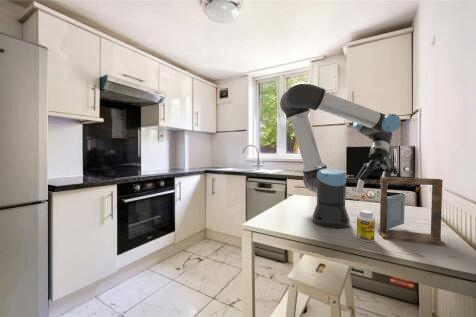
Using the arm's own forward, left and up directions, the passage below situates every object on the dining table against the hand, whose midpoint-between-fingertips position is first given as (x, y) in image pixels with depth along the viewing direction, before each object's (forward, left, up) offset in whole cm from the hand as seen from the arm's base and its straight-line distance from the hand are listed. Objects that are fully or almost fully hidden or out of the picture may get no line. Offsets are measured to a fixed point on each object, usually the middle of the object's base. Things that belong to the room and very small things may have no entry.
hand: (370, 189), depth 95 cm
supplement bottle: (-6, -22, -15) cm, 27 cm away
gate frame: (+9, -15, -15) cm, 23 cm away
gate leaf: (+6, -9, -13) cm, 17 cm away
